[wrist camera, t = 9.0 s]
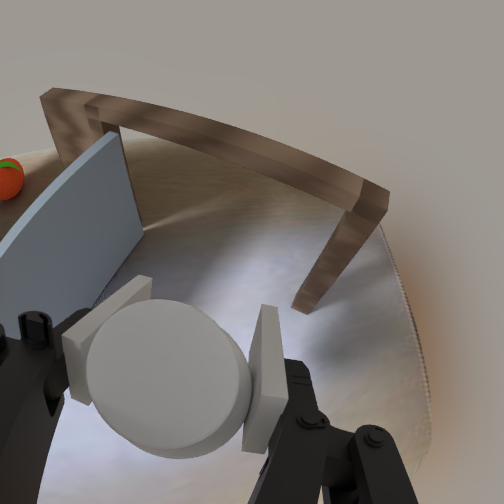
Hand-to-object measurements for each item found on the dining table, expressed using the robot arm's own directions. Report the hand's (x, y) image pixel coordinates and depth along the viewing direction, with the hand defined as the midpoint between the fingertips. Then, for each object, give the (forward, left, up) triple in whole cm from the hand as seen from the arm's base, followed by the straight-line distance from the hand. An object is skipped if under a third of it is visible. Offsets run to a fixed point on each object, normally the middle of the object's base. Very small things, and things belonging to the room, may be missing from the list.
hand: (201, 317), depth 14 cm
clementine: (-42, +6, -16) cm, 45 cm away
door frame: (-10, +11, -16) cm, 22 cm away
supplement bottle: (+1, -4, -4) cm, 5 cm away
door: (-15, +1, -16) cm, 22 cm away
